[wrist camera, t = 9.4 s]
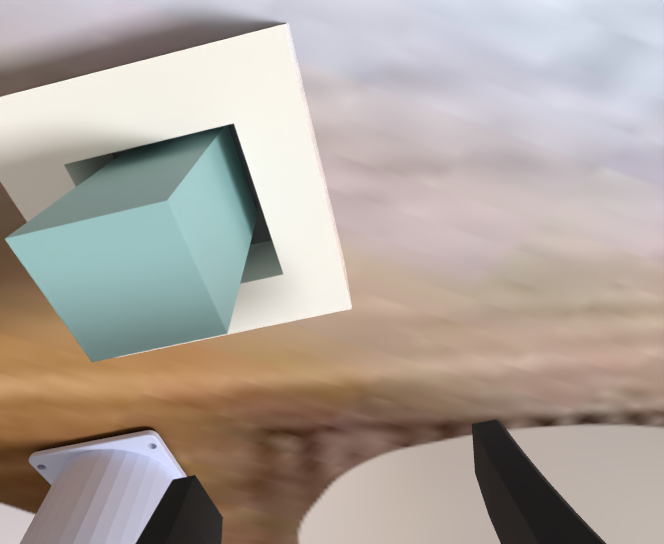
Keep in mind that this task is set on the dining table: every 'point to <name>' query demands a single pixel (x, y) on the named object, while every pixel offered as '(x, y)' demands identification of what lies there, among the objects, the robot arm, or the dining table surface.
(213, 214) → the post
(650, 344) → the dining table surface
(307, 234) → the well
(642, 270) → the dining table surface
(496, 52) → the dining table surface
